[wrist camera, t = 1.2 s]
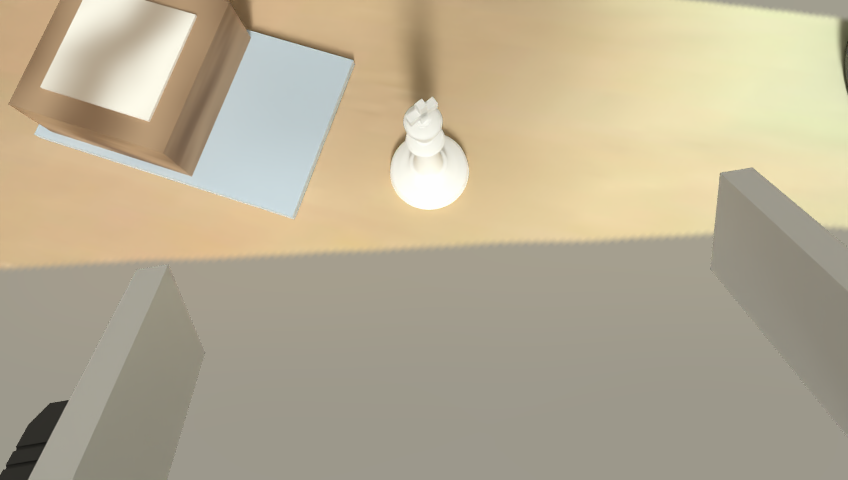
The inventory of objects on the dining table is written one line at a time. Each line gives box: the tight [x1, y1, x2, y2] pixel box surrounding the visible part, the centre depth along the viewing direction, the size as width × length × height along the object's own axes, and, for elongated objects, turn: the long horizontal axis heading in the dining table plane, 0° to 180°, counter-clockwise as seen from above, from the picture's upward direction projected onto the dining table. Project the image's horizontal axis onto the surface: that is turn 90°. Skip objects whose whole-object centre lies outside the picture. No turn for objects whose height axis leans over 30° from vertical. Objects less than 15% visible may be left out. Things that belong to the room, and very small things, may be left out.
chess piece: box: [390, 97, 469, 210], centre depth 37 cm, size 5×5×10 cm
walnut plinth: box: [9, 0, 251, 176], centre depth 41 cm, size 10×10×5 cm
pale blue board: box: [35, 29, 355, 219], centre depth 43 cm, size 18×11×1 cm, turn 71°
